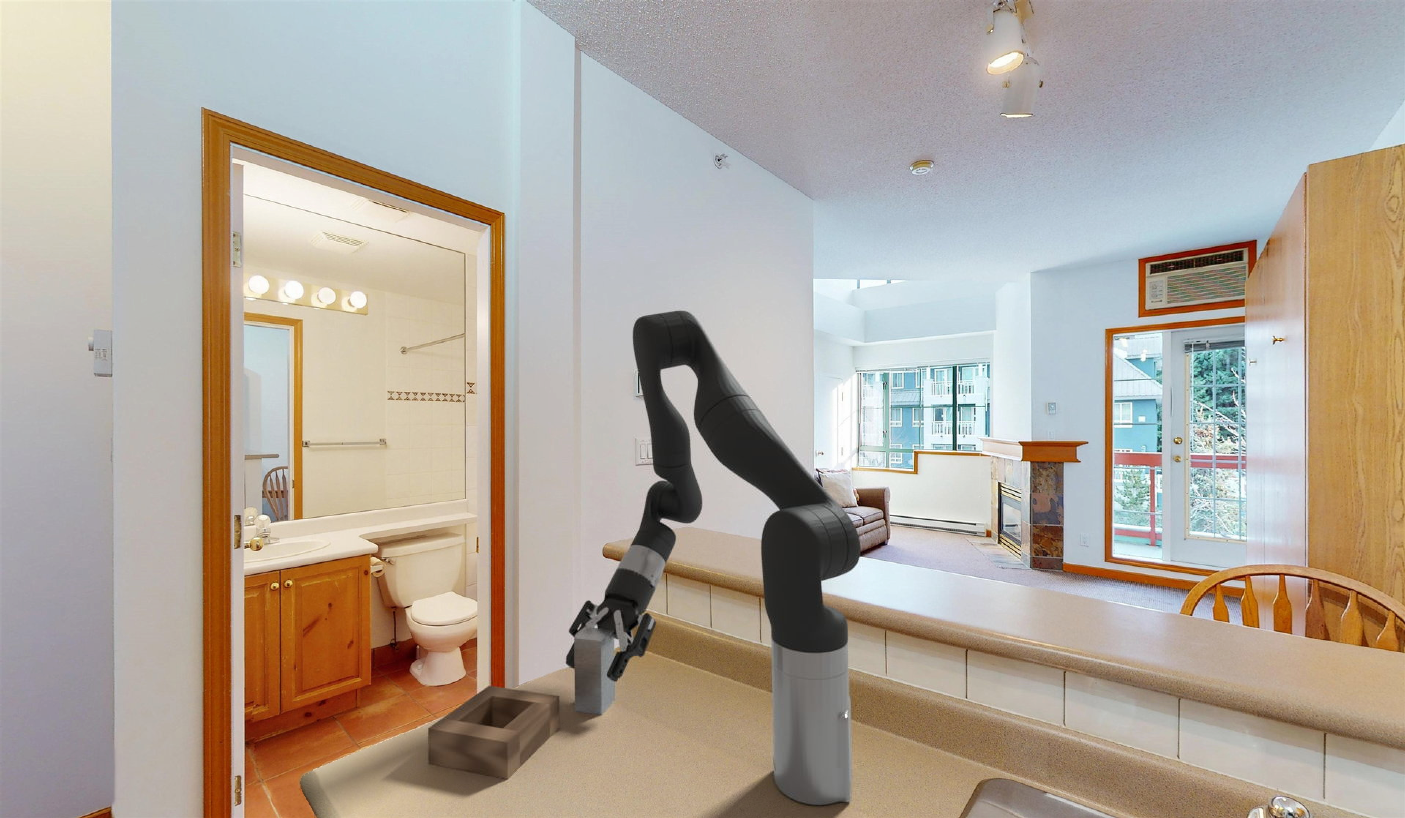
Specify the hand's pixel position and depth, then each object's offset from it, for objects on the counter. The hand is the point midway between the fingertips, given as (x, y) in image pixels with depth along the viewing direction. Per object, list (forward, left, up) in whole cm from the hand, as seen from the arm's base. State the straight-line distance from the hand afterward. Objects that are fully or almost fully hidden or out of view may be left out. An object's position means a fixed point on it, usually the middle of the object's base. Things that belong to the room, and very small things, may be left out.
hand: (590, 672), depth 86 cm
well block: (+8, +12, -5) cm, 15 cm away
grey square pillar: (0, -1, -5) cm, 6 cm away
